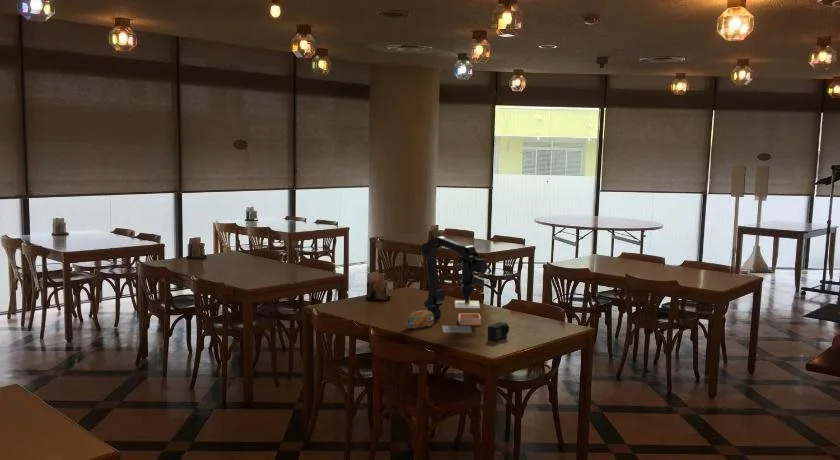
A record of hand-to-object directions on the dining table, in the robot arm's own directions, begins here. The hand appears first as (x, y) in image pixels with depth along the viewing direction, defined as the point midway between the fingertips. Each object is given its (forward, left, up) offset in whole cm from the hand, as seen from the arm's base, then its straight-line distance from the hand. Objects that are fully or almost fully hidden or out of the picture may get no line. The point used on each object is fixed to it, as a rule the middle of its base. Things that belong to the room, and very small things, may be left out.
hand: (467, 301), depth 357 cm
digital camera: (+13, -27, -12) cm, 33 cm away
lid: (0, 0, -2) cm, 2 cm away
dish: (+2, +3, -12) cm, 12 cm away
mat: (-5, -10, -12) cm, 16 cm away
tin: (-23, -5, -12) cm, 27 cm away
